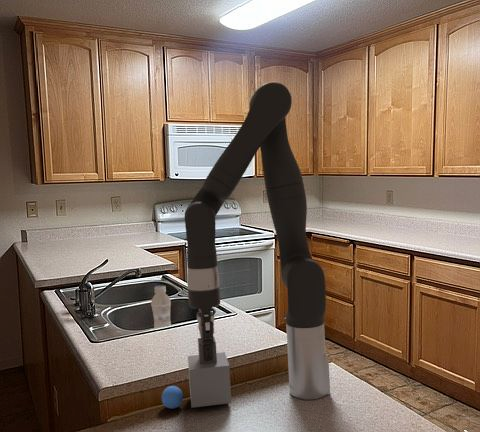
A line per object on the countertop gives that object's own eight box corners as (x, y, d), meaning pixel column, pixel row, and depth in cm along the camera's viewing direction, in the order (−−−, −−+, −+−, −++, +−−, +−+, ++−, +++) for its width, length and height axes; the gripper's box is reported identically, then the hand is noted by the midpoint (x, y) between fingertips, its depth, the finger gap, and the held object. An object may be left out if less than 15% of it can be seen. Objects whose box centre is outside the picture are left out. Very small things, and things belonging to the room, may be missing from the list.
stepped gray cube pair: (226, 386, 116) (223, 332, 115) (231, 402, 107) (228, 344, 106) (189, 390, 115) (186, 336, 114) (191, 407, 106) (187, 348, 105)
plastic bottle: (170, 348, 152) (166, 288, 151) (150, 348, 154) (146, 288, 153) (176, 342, 159) (173, 284, 158) (158, 342, 160) (154, 284, 159)
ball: (183, 401, 112) (182, 381, 112) (183, 410, 107) (182, 389, 107) (162, 404, 112) (161, 383, 111) (162, 413, 107) (160, 392, 106)
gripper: (222, 290, 103) (226, 366, 104) (216, 279, 117) (220, 345, 118) (188, 293, 102) (193, 369, 103) (186, 281, 116) (190, 348, 117)
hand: (207, 356), depth 110 cm, fingers closed on stepped gray cube pair, 4 cm apart
